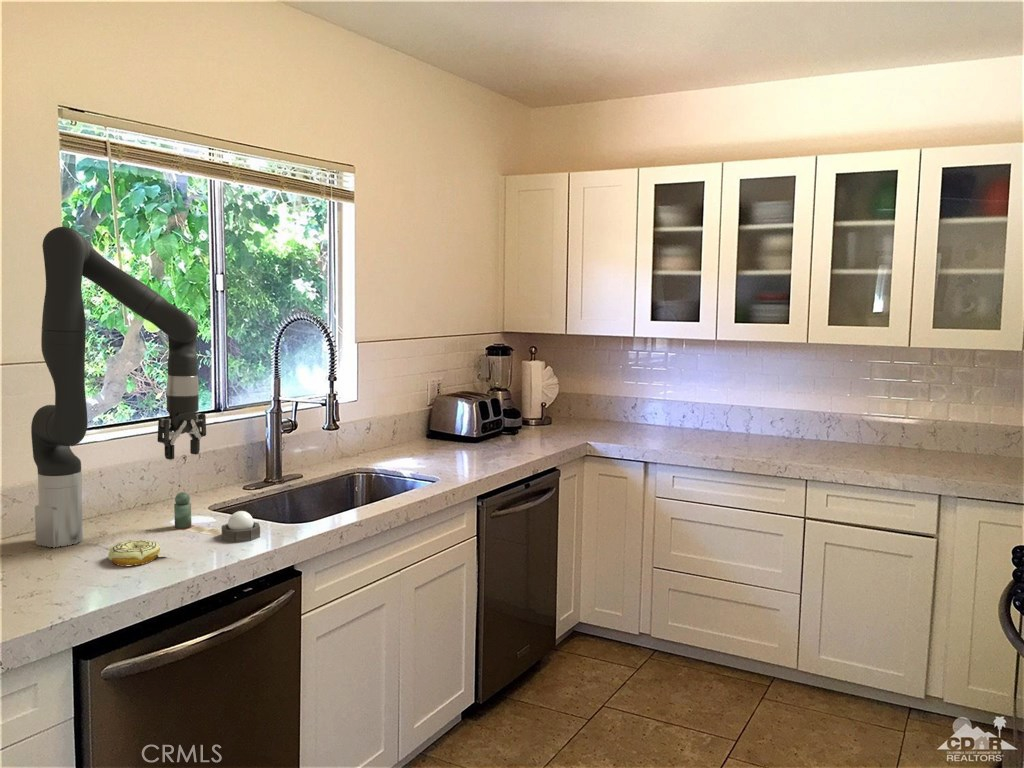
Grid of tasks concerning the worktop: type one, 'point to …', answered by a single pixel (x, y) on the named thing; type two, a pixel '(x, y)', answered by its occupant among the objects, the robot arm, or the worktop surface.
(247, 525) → the white ball
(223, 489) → the worktop surface
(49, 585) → the worktop surface
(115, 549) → the decorated donut
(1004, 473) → the worktop surface
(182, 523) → the pawn
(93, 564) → the worktop surface
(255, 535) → the game board
